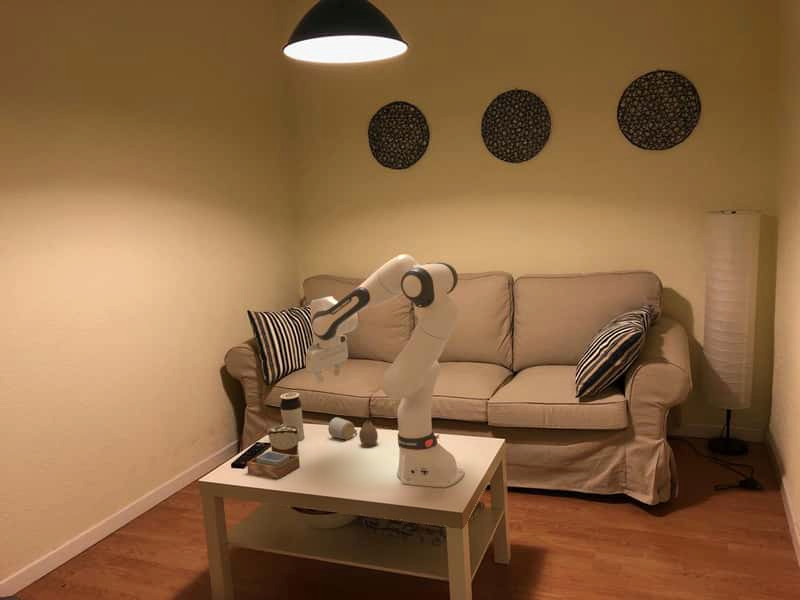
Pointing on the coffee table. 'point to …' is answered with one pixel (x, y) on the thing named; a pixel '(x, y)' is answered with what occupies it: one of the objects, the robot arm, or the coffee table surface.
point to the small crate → (272, 459)
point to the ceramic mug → (341, 428)
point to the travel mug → (292, 412)
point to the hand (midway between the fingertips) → (329, 378)
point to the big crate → (271, 470)
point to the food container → (284, 439)
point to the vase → (368, 434)
